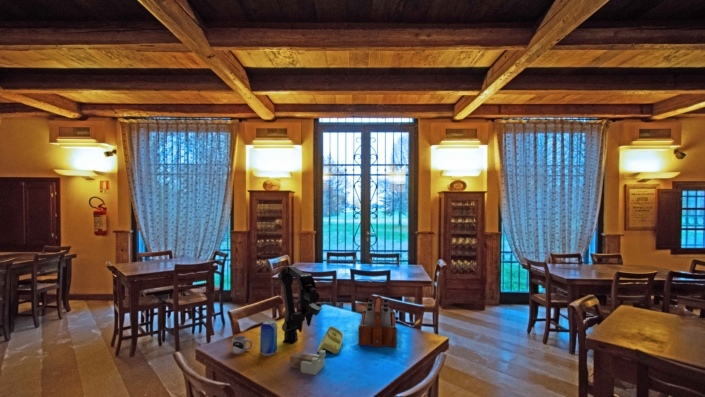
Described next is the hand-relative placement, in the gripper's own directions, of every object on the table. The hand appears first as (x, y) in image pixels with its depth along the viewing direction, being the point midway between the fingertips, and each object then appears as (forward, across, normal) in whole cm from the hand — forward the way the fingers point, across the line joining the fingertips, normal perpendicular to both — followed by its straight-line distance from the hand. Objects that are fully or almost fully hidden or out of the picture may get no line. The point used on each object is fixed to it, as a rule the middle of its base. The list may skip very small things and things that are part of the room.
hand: (304, 328), depth 167 cm
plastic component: (+12, +12, -10) cm, 20 cm away
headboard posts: (+12, -14, -11) cm, 21 cm away
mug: (+12, -10, +31) cm, 35 cm away
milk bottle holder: (+12, +35, -30) cm, 48 cm away
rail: (+12, -14, -7) cm, 20 cm away
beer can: (+12, -7, +17) cm, 22 cm away
